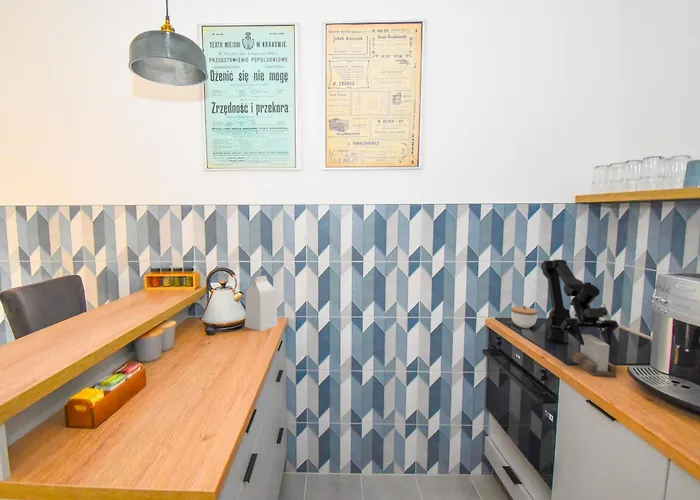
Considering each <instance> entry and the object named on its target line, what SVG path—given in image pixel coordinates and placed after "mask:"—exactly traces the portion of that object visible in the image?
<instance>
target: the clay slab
mask: <svg viewBox="0 0 700 500" xmlns="http://www.w3.org/2000/svg"><path fill="white" fill-rule="evenodd" d="M581 335H582V338H583V340H584V345H581V344H580V350H579V351H580V352H579V353H580V354H581V355H583V356H584V357H586V358H587V359H588V360H590V361H591V362H593V363H594V364H595V365H597V371H602V372H607V370H608V362H609V359H610V358H609V357H610V356H609V355H610V347H609V345H608V344H606V342H605V341H603V340H602V339H600V338H598V337H596V336H594V335H593V334H587V333H586V334H585V333H584V334H583V333H581Z"/></svg>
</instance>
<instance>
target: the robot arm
mask: <svg viewBox="0 0 700 500" xmlns="http://www.w3.org/2000/svg"><path fill="white" fill-rule="evenodd" d="M540 268H541V271H542V275H543V276H544V277H545V278H546V279H547V283H548V284H547V285H548V289H549V290H548V291H549V295H550V302H551V303H550V304H551V310H550V311H549V313H548V317H547V319H546V320H545V327H547V328H548V329H549V336H546V337H545V338H546V339H547V340H548V341H551V342H553V343H554V344H555V343H568V340H566V339H565V338H566V337H565V335H566V334H567V333H568V334H569V335H570V336H572V337H573V338H574V339H575V340H576V341H577V342H578V343H579V344H580V346H581V345H584V340H583V338H582V335H581V334H582V333H581V330H580V328H586V329H587V328H590V329H599V331H600V335H601V337H602V338H603V340H604V342H605V343H606V344H608V345H609V348H611V346H612V333H613V332H614V331H615V330H616V329H618V328H619V327H620V325H619V323H618V322H617V321H616V320H614V319H604V320H603V321H602V322H599V321H600V319H601V318H604V317H605V316H606V317H607V316H608V309H607V308H606V307H603V306H600V307H598V308H597V307H596V308H593V307H591V305H590V304H592V303H594V301H595V300H596V299H597V298H598V296H599V295H600V293H601V292H600V289H599V288H598V287H597V286H595V285H594V284H592V283H591V281H590V282H589V281H588V282H587V281H585V282H583V280H581V279H578V278H576V277H575V275H574V273H573V272H572V270H571V269H570V267H569V266H568V264H567V261H566V260H565V259H553V260H544V261H543V262H541V263H540ZM560 279H561V281H562V282H563V284H564V285H563V291H564V294H565V295H566V296H567V297H573V298H571V301H570V303H569V305H570V306H572V307H573V310H574V312H575V314H574V318H572V317H571V314H570V313H571V312H570V310H569V309H567V308H566V307H565V306H564V300H563V293H562V288H561V281H560Z"/></svg>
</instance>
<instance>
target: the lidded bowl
mask: <svg viewBox="0 0 700 500" xmlns="http://www.w3.org/2000/svg"><path fill="white" fill-rule="evenodd" d="M510 309H511V320H512V322H513V323H514V324H515V326H516V325H517V326H516V327H518V326H519V327H518V328H521V327H522V328H521V329H531V328H532V327H533V326H534V325H535V324H536V322H537V319H538V314H539V313H538V312H539V311H538V310H537V309H536V308H532V307H526V305H523V306H513V307H511V308H510ZM530 327H531V328H530Z"/></svg>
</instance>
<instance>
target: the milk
mask: <svg viewBox="0 0 700 500" xmlns="http://www.w3.org/2000/svg"><path fill="white" fill-rule="evenodd" d="M277 306H278V305H277V292H276V289H275V288H274V287H273V285H272V284H271V283H270V282H269V280H268V278H267V276H266V275H263V276H255V279H254V282H253V283H252V285H250V286H249V288H247V290H246V294H245V315H244V316H245V317H244V318H245V320H244V327H245V328H247V329H251V330H255V331H259V332H262V331H265V330H268V329H272V328H274V327H277V326H278V325H279V323H278V307H277Z"/></svg>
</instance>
